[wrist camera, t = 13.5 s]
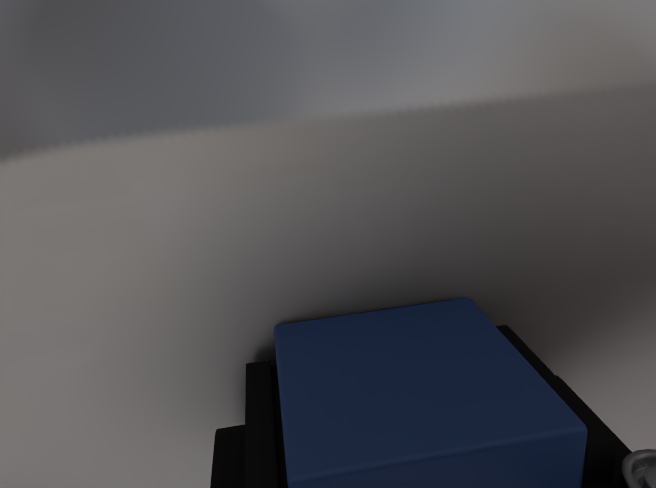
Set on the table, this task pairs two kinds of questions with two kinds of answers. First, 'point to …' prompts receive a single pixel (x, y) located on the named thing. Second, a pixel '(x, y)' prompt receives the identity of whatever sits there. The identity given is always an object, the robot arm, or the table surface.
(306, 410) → the blue block
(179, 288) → the table surface
